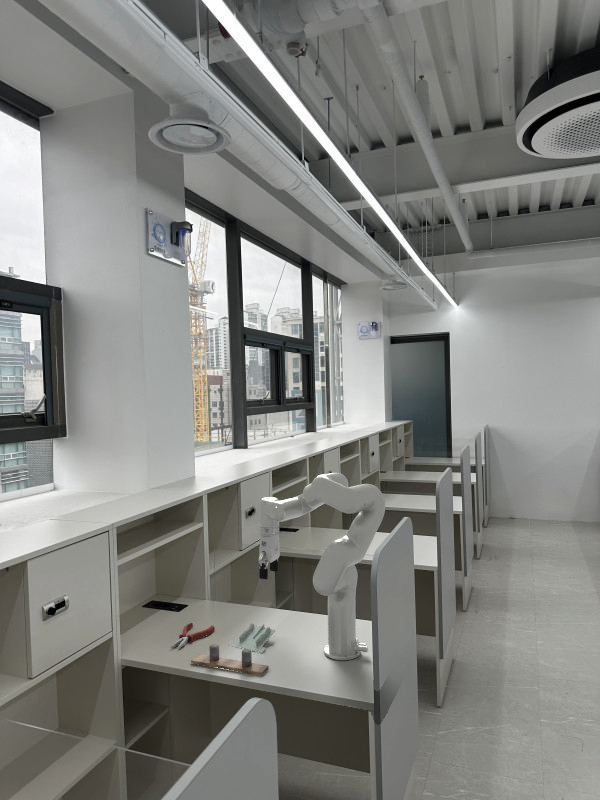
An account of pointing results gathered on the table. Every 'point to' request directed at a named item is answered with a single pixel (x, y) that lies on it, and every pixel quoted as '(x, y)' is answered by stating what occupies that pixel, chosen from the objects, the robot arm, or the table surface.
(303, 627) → the table surface
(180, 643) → the pliers
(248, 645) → the metal bracket
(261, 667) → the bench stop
